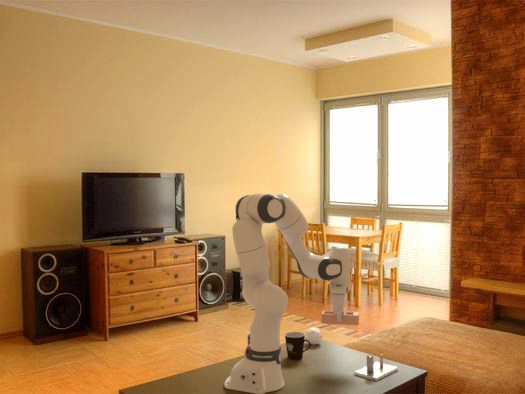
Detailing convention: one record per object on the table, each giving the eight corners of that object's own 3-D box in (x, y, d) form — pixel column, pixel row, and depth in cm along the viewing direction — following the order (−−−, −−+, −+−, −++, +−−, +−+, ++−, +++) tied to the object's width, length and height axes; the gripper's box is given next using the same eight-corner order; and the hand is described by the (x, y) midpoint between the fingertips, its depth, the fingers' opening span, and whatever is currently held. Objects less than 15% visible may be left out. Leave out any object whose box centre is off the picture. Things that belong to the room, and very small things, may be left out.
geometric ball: (316, 348, 252) (325, 334, 254) (315, 347, 245) (324, 332, 246) (302, 339, 254) (311, 325, 256) (301, 338, 247) (310, 323, 249)
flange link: (321, 323, 221) (321, 313, 221) (323, 319, 227) (323, 310, 226) (358, 325, 217) (358, 315, 217) (359, 321, 223) (359, 312, 223)
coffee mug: (281, 356, 234) (281, 333, 233) (299, 353, 237) (298, 330, 237) (294, 364, 223) (294, 340, 223) (312, 360, 227) (312, 337, 226)
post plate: (376, 381, 203) (376, 361, 203) (354, 374, 210) (354, 355, 210) (398, 370, 214) (397, 351, 214) (376, 364, 221) (376, 346, 221)
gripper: (334, 280, 232) (335, 312, 233) (329, 290, 212) (330, 324, 213) (349, 281, 231) (349, 313, 231) (345, 290, 211) (346, 325, 211)
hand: (340, 318), depth 222 cm, fingers closed on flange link, 6 cm apart
